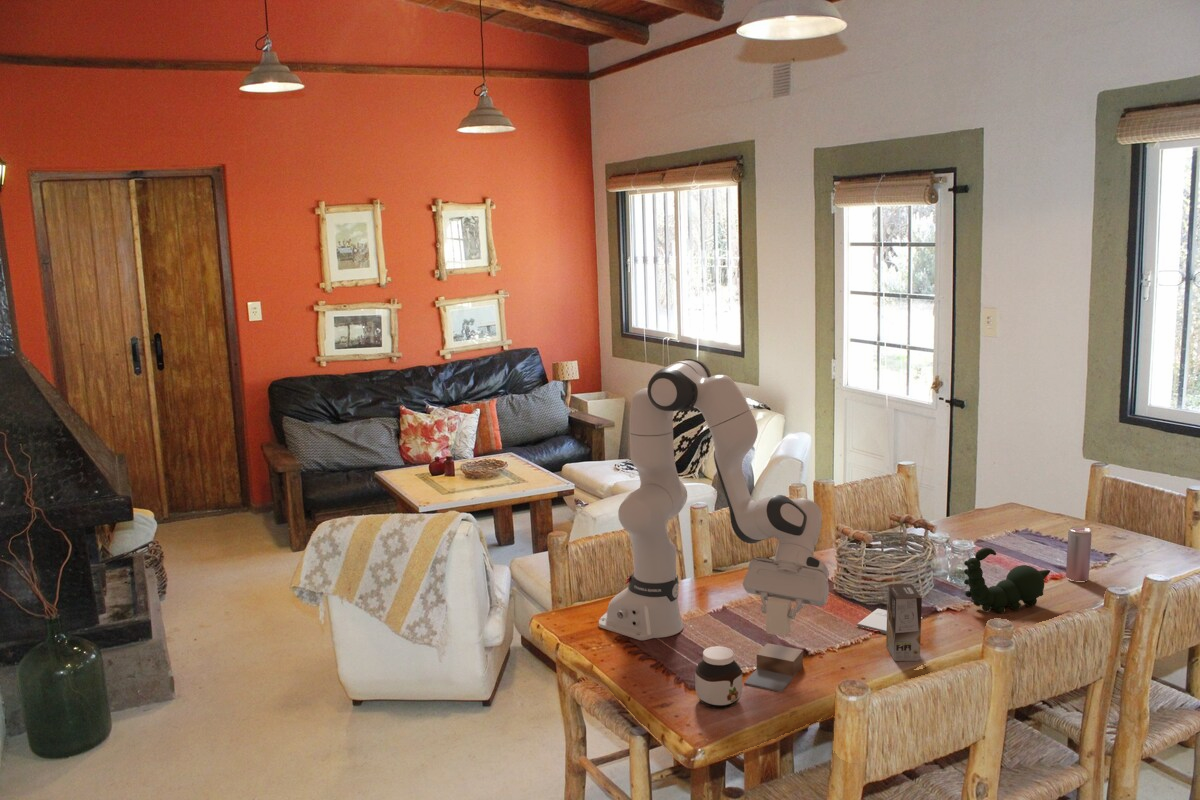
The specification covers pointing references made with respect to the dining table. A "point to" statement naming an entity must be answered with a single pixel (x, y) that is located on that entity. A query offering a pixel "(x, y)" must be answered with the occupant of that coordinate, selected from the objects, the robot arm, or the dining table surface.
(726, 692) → the spread jar
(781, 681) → the mat
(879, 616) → the external hard drive
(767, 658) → the deck
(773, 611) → the block
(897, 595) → the coffee box
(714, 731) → the dining table surface
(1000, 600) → the toy figurine
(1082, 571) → the beverage can
